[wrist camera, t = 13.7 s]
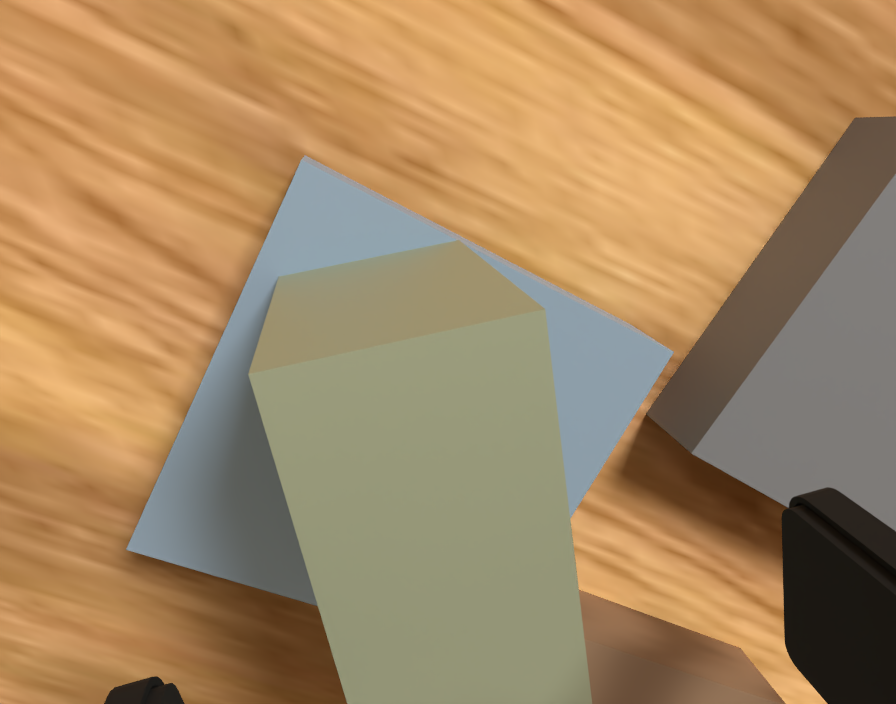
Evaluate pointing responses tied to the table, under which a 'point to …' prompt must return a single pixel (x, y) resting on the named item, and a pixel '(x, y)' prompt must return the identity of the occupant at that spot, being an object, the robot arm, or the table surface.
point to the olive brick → (426, 478)
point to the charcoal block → (807, 344)
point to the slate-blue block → (240, 424)
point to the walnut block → (663, 661)
